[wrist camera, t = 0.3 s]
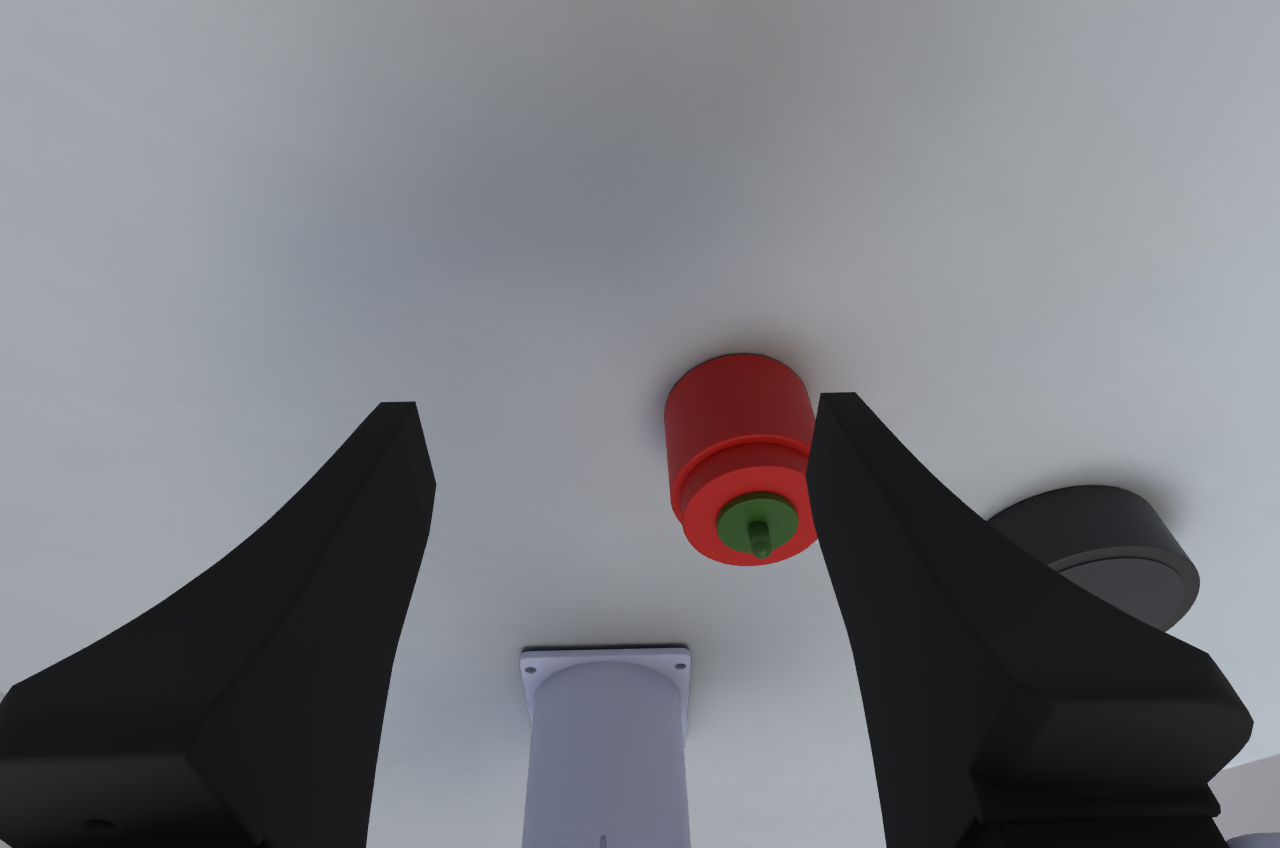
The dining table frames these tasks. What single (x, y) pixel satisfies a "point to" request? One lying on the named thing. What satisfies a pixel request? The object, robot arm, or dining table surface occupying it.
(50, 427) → the dining table surface
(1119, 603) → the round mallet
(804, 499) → the pepper
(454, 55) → the dining table surface
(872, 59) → the dining table surface
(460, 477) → the dining table surface
